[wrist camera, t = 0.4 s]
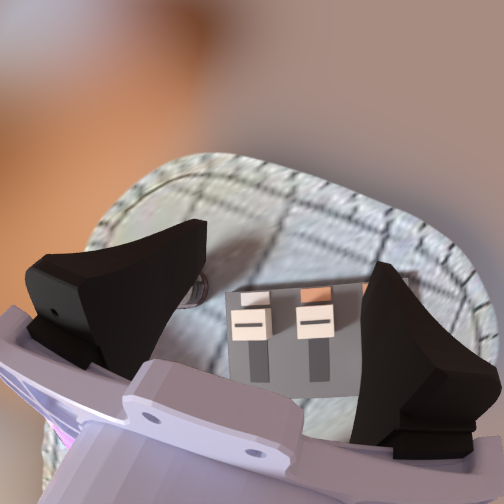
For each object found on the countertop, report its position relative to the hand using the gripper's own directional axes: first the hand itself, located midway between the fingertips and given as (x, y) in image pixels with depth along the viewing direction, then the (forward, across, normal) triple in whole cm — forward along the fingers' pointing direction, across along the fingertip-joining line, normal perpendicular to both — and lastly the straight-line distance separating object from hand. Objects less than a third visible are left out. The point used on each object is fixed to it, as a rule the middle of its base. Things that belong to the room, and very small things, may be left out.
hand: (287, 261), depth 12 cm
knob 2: (+16, -4, +18) cm, 24 cm away
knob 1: (+16, +3, +20) cm, 26 cm away
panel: (+16, -5, +21) cm, 27 cm away
